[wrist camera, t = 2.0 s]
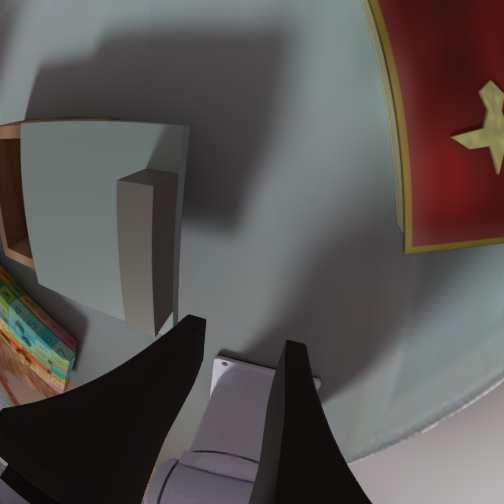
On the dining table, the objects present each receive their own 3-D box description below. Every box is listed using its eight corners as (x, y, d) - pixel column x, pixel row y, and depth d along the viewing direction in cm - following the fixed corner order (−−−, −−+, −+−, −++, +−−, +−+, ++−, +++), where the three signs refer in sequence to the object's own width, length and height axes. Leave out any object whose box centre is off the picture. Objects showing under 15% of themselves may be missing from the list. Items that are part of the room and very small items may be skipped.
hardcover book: (477, -47, 6) (500, -66, 2) (525, 215, 14) (556, 238, 11) (325, -67, 9) (325, -100, 6) (389, 227, 18) (406, 256, 14)
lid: (190, 125, 13) (157, 130, 10) (177, 329, 18) (157, 363, 16) (29, 122, 14) (-7, 130, 11) (44, 278, 20) (19, 299, 17)
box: (120, 117, 17) (82, 122, 14) (119, 268, 23) (91, 294, 19) (23, 120, 19) (-10, 127, 15) (31, 238, 24) (5, 255, 21)
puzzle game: (60, 399, 31) (-28, 308, 28) (76, 377, 35) (-10, 292, 33) (65, 366, 25) (-36, 255, 23) (87, 340, 29) (-12, 240, 27)
